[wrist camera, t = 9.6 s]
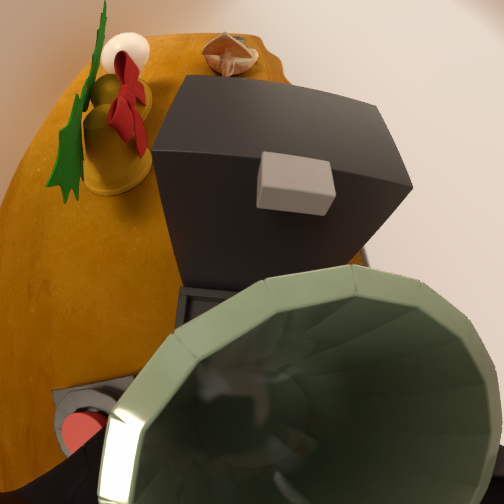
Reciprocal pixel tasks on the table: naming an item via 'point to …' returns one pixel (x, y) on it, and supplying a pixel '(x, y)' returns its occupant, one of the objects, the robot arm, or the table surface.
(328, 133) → the coffee maker
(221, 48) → the oil lamp
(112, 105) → the ornament
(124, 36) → the lightbulb
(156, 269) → the table surface
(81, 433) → the button
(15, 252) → the table surface
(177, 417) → the cup
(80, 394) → the button block
